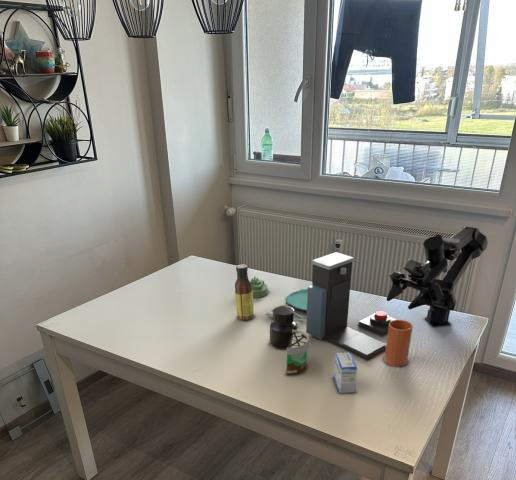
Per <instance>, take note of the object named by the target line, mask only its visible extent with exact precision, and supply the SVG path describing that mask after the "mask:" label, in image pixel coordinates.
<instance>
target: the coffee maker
mask: <svg viewBox="0 0 516 480" xmlns="http://www.w3.org/2000/svg"><path fill="white" fill-rule="evenodd" d="M354 260H355V258H354V256H353V257H352V256H350V255H348V254H344V253H340V252H338V251H335V252H332V253H330V254H326V255H324V256H321V257H317V258H314V259H311V264H312V280H311V281H312V282H311V284H310V285H308V286H307V289H308V293H307V311H306V318H307V319H306V322H305V324H306V326H305V334H308V335H310V336H312V337H314V338H316V339H318V340H321V339H322V340H325V341H327V342H329V343H331V344H333V345H335V346H337V347H339V348H341V349H343V350H345V351H346V352H348V353H350V354H351V353H352V354H354V355H356V356H357V357H359V358H361V359H364V360H366V361H368V360H369V359H372V358H373V357H374V356H376V355H378V354H380V353H381V352H385V349H386V343H385V342H383V341H381V340H378V339H376V338H374V337H372V336H369V335H367V334H365V333H363V332H361V331H358V330H356V329H354V328H351V327H349V326H348V321H349V309H350V306H349V305H350V294H351V282H352V270H353V262H354Z"/></svg>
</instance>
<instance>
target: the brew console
mask: <svg viewBox="0 0 516 480" xmlns="http://www.w3.org/2000/svg"><path fill="white" fill-rule="evenodd" d="M393 320H398V318H395V317H392V316H390V315H389V314H387V318H386V320H378V319H375V312H374V313H372V314H370V315H369V316H367V317H365V318H362V319H361V320H359V321H358V327H361V328H363V329H365V330H367V331H370V332H372V333H374V334H376V335H379V336H381V337H382V336H384V335H386V334H388V326H389V323H390V321H393Z"/></svg>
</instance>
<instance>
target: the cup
mask: <svg viewBox="0 0 516 480" xmlns="http://www.w3.org/2000/svg"><path fill="white" fill-rule="evenodd" d="M413 329H414V327H413V324H412V323H411V322H410V321H407V320H404V319H397V320H393V321H390V323H389V326H388V333H386V334H387V335H386V341H385V342H386V343H385V344H386V349H385V350H384V358H383V359H384V362H385V363H386V364H388V365H390V366H393V367H403V366H404V367H405V366H406V365H407V363H408V361H409V353H410V346H411V339H412V333H413Z"/></svg>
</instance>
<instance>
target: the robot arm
mask: <svg viewBox="0 0 516 480" xmlns="http://www.w3.org/2000/svg"><path fill="white" fill-rule="evenodd" d="M488 244H489V242H488V239H487V236H486V235H485V234H483V233H482V232H481V231H480V229H479V228H478V227H475V226H469V225H465V226H462V228H461V230H459V231H458V232H456V233H455V234H453V235H452V236H451V237H447V238H446V237H445V238H443V235H442V234H438V233H436V234H435V235H433V236H430V237H428V238H426V239H425V240H424V241H423V251H424V256H425V260H427V261H426V262H424V261H423V262H419V261H417V260H413V259H408V260H407V261H406V263H405V264H404V266H403V270H405V271H406V272H407V273H408V274H407V276H408V278H410V279H408V278H406V274H405V273H404V272H403V273H402V272H399V271H393V272H392V273H391V274H389V278H390V281H391V288H390V289H389V292H388V294H387V297H386V301H387V302H390V301H392V300H393V299H395V298H396V297H398V296H400V295H401V294H403V293H404V290H406V289H407V288H412V289H414V290H415V291H418V292H419V294H417V296H416V297H415V298H414V299H413V300H412V301H411V302H410V303H409V305H408V306H407V309H408V310H413V309H415V308H419V307H421V306H425V305H426V306H429V309H427V314H426V317H424V320H426V321H427V322H428V323H429V324H430V325H431V326H432V327H443V326H451V322H450V321H449V318H450V313H451V311H455V307H456V304H457V299H456V297H455V287H456V285H457V284H458V282H459V281H460V279H461V277H462V276H463V274H464V273H465V271H466V270H467V268H468V267H469V265H470V264H471V262H472V261H473V260H475V259H477V258H479V257H481V255H482V254H483V253H484V252H485V251H486V250H487V247H488ZM448 261H450V262H451V261H452V264H451V266H450V267H449V264H448ZM448 267H449V269H448ZM442 273H445V275H444V276H443V278H442V279H439V278H438V277H439V276H441V274H442Z"/></svg>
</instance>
